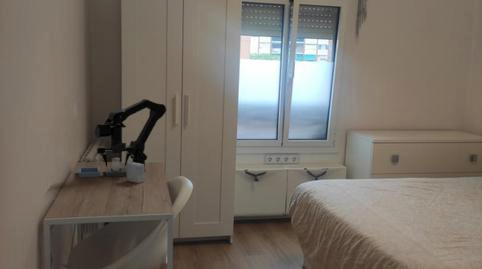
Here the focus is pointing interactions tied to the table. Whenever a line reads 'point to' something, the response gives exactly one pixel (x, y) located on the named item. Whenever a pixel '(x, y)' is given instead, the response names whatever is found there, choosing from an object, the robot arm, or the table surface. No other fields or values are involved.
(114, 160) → the grey rounded piece
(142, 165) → the medicine box
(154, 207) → the table surface
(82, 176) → the parts tray
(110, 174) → the grey flat square frame
